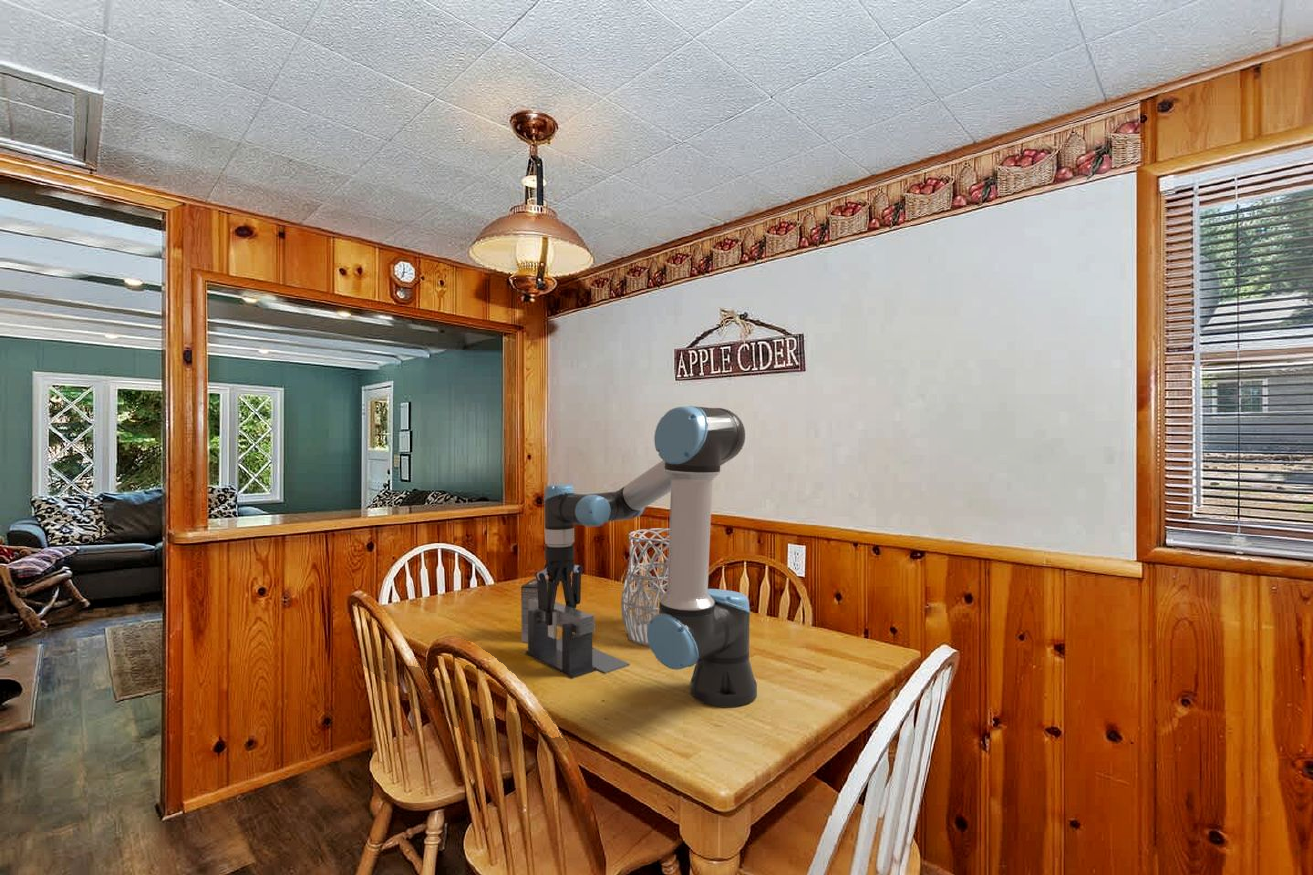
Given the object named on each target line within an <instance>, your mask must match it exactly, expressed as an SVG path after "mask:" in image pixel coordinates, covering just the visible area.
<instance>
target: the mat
mask: <svg viewBox="0 0 1313 875" xmlns="http://www.w3.org/2000/svg"><path fill="white" fill-rule="evenodd" d="M557 650H559V651H561V652H562V637H561V638H557ZM630 665H631V663H629V662H628V661H627V662H626V661H625V660H622V659H619V658H618V657H615V656H612V655H611V654H608V653H606V652H603V651H600V650H599V649H596V648H594V647H592V666H594V667H596V671H598V672H601V673H603V674H608V673H612V672H614V671H617V670H620V669H623V668H626V667H629V666H630Z"/></svg>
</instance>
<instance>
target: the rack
mask: <svg viewBox="0 0 1313 875" xmlns="http://www.w3.org/2000/svg"><path fill="white" fill-rule="evenodd" d="M557 628H558V626H556V638H555V639H553V638H551V637H549V636H548V625H546V622H545V621H544V620H541V619H538V620H537V612H535V611H533V610H528V642H527V650H525V651H524V655H526V656H528V657H530V658H532V659H534V660H536V661H538V662H540V663H541V664H544V665H546V666H548V667H550V668H551V669H553V670H556V671H557V672H559V673H561V674H564V675H565V676H566V677H569V678H571V679H575V678H578V677H582V676H584V675H587V674H590V673H593V672H594V673H595V672H596V671H597V670H596V667H594V666H592V648H593V632H591V633H588V634H584V635H579V634H576V633H574V632H572V626H570V625H567V624H562V630H561V633H562V634H561V635H562V637H561V638H562V652H561V651H559V650H557V639H558V638H557V631H558V630H557Z"/></svg>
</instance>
